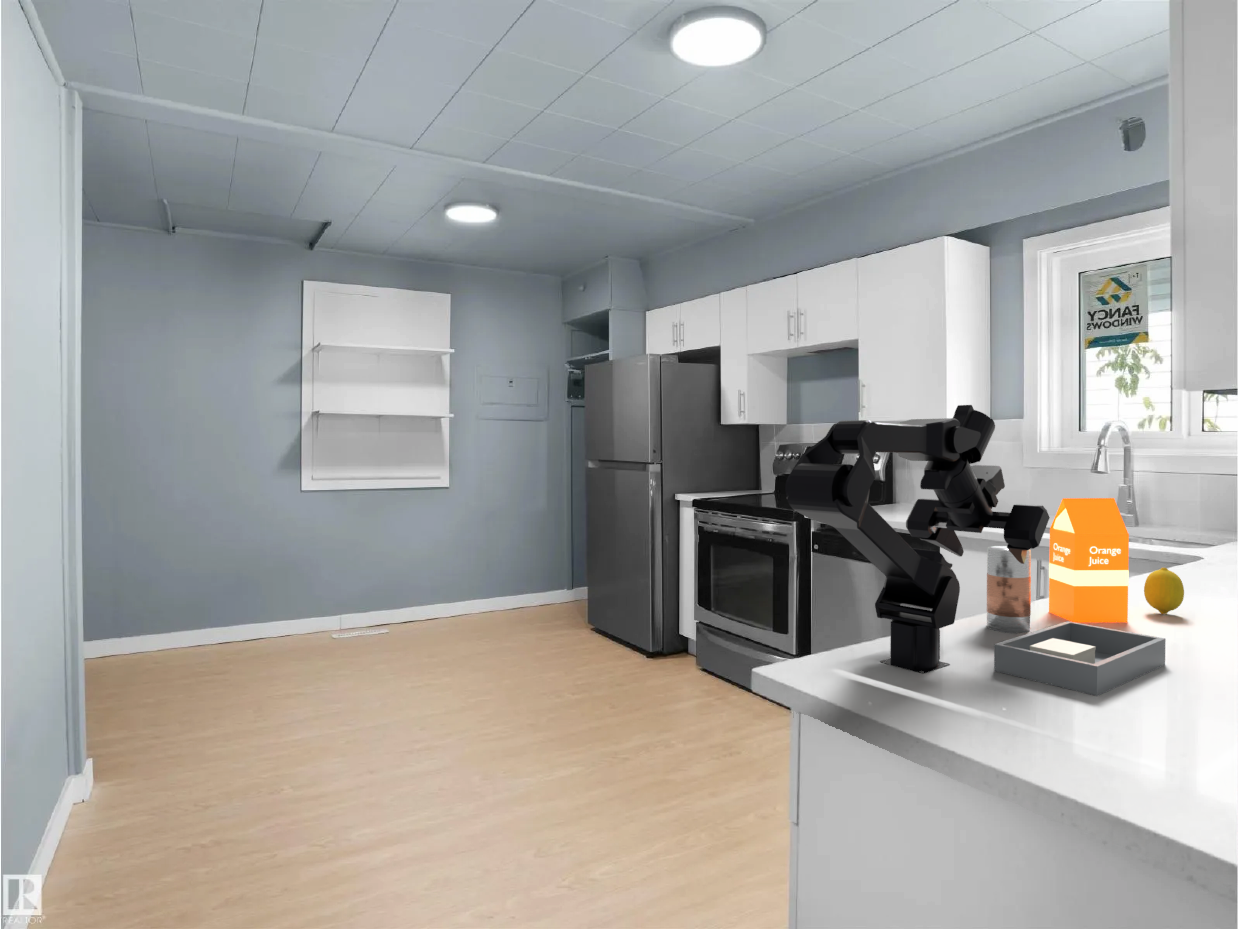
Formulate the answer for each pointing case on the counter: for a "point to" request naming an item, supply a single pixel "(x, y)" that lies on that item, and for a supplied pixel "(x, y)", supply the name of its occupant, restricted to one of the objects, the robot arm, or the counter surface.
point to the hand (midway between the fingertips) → (991, 557)
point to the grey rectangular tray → (1113, 666)
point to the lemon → (1164, 590)
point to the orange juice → (1089, 561)
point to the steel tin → (1008, 591)
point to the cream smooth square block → (1066, 650)
